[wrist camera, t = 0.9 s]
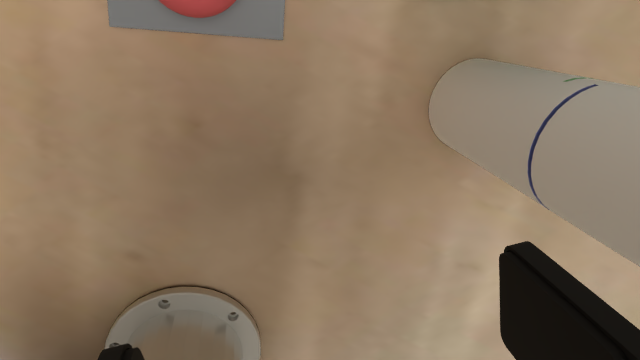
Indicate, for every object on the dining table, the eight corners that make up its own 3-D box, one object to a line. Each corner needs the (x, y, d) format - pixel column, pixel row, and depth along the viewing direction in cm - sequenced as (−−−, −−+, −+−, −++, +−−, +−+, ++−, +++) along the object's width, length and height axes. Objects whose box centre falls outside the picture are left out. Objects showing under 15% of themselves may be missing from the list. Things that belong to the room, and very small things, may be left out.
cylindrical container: (415, 85, 33) (840, 259, 10) (500, 41, 32) (1137, 107, 9) (445, 164, 35) (831, 446, 12) (524, 123, 35) (1060, 330, 12)
